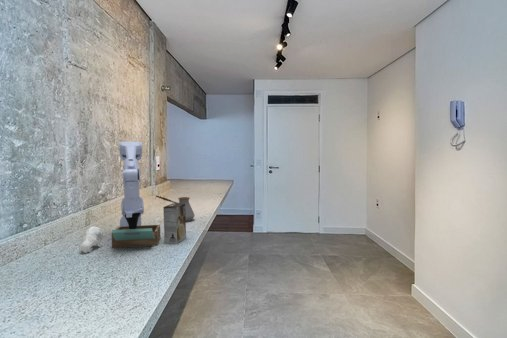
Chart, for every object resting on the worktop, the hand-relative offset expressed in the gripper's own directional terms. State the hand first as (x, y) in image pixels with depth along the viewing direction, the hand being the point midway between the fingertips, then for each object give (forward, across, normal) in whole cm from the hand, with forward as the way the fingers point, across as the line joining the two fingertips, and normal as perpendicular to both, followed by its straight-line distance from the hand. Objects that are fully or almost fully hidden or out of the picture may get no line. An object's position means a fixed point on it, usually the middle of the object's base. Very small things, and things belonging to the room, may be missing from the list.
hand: (133, 231), depth 129 cm
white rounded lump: (+8, +3, +17) cm, 19 cm away
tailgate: (+4, +3, 0) cm, 5 cm away
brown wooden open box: (+7, +9, 0) cm, 12 cm away
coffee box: (+8, +9, -16) cm, 20 cm away
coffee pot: (+8, +47, -14) cm, 50 cm away
